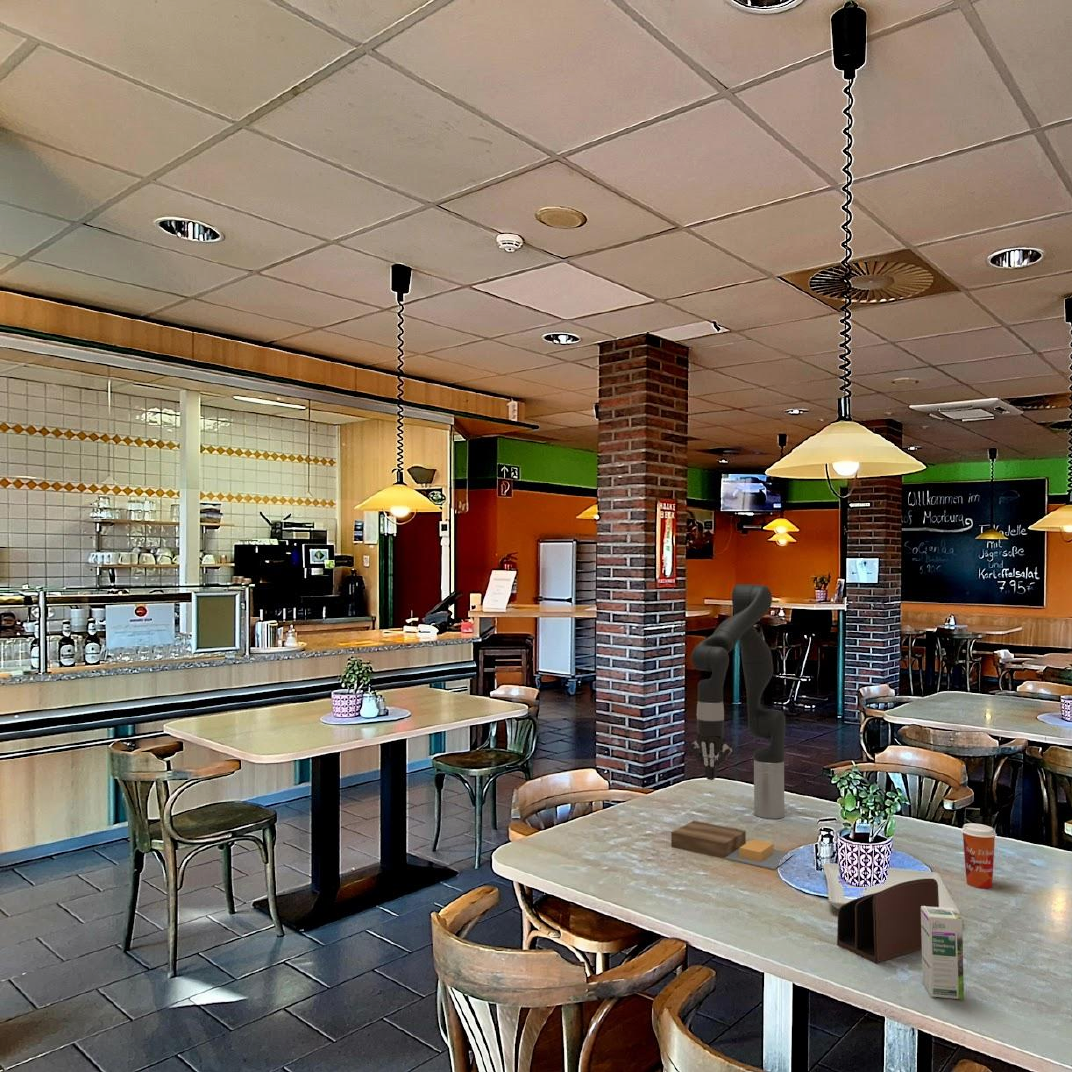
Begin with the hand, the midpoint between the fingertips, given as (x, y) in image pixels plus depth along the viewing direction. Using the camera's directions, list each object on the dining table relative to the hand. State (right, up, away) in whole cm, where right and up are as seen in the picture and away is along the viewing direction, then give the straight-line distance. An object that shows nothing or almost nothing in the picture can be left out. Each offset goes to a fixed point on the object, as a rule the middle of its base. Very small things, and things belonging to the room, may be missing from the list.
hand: (710, 779), depth 238 cm
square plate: (+33, -18, -38) cm, 54 cm away
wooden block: (-1, -19, 0) cm, 19 cm away
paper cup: (+61, -18, -29) cm, 69 cm away
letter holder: (+24, -17, -62) cm, 69 cm away
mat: (+11, -18, -9) cm, 24 cm away
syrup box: (+26, -16, -82) cm, 88 cm away
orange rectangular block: (+10, -17, -9) cm, 22 cm away
